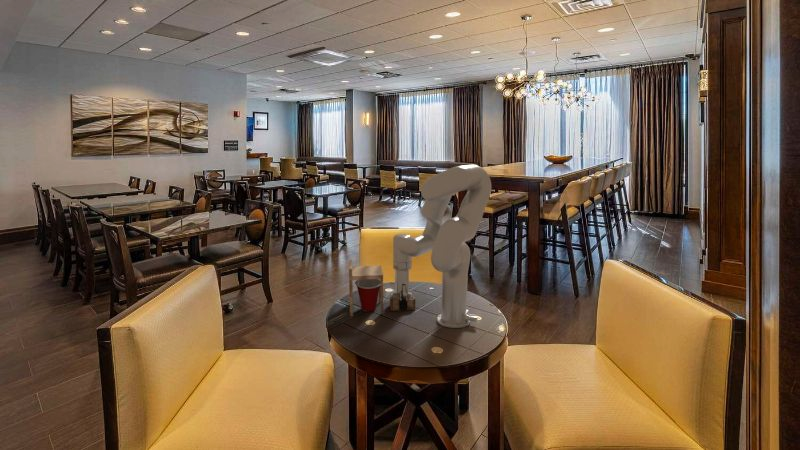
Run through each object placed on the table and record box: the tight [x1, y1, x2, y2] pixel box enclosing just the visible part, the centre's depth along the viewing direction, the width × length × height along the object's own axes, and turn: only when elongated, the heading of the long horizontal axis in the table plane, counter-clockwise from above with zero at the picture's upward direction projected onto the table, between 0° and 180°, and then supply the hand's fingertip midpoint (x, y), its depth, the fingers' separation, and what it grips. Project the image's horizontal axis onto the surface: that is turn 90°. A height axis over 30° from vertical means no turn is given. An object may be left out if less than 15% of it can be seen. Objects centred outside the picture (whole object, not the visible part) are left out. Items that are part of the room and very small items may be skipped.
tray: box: [389, 292, 416, 312], centre depth 177 cm, size 10×6×6 cm, turn 97°
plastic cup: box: [354, 279, 381, 312], centre depth 174 cm, size 11×11×12 cm
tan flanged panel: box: [348, 259, 384, 317], centre depth 174 cm, size 13×13×20 cm
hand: (402, 305), depth 177 cm, fingers closed on tray, 6 cm apart
